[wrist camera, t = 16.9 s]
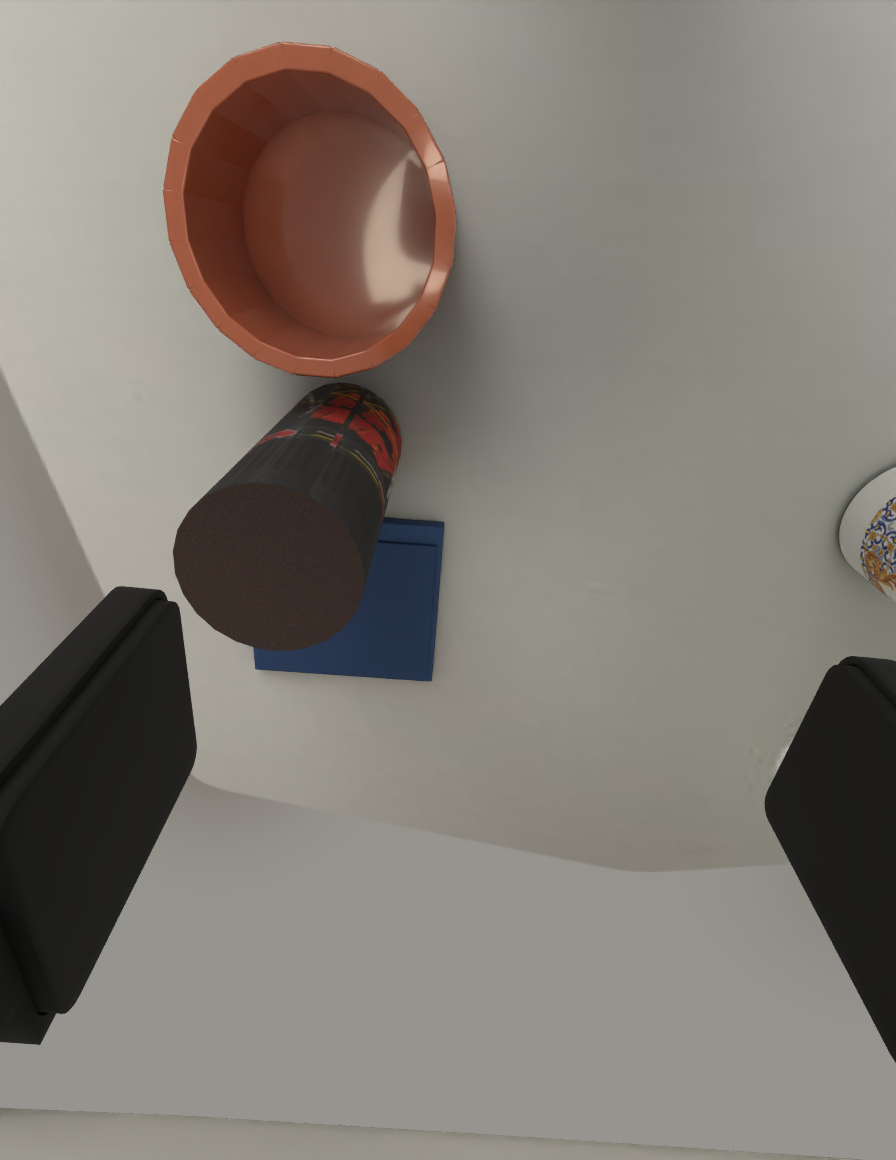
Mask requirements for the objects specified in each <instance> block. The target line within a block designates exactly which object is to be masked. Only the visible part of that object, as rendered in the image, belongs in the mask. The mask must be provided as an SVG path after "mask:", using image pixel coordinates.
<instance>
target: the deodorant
mask: <svg viewBox="0 0 896 1160" xmlns="http://www.w3.org/2000/svg"><path fill="white" fill-rule="evenodd" d="M401 442H402V440H401V434H400V429H399V425H398V423H397V421H396V419H395V416H394V414H393V412H392V411H391V410H390V409H389V407H388V406H387V405H386V404H385V403H384V401H383V400H382V399H380V398H379V397H378V396H376V395H375V394H374V393H372V392H371V391H369V390H367V389H364V388H362V387H359V386H357V385H352V384H345V383H336V384H329V385H324V386H322V387H320V388H317V389H315V390H313V391H311V392H310V393H309V394H308V395H306V396H305V397H304V398H303V399H302V400H301V401H300V402H299V403H298V404H297V405H296V406H295V407H294V408H293V409H292V410H291V411H290V412H289V413H288V414H287V415H285V416H284V417H283V418H282V419H281V420H280V421H279V422H278V423H277V424H276V425H275V426H274V427H273V428H272V429H271V430H270V431H269V432H268V433H267V434H266V435H265V436H264V437H263V438H262V439H261V440H260V441H259V442H258V443H257V444H256V445H255V446H254V447H253V448H252V449H251V450H250V451H249V452H248V453H247V454H246V455H245V456H244V457H243V458H242V459H241V460H240V461H239V462H238V463H237V464H236V465H235V466H234V467H233V468H232V469H231V470H230V471H229V472H228V473H227V474H226V475H225V476H224V477H223V478H222V479H221V480H220V481H219V482H218V483H217V484H216V485H215V486H213V487H212V488H211V489H210V490H209V491H208V492H207V493H206V494H205V495H204V496H203V497H202V498H201V499H200V500H199V501H198V502H197V503H196V504H195V505H194V506H193V507H192V508H191V509H190V510H189V511H188V513H187V515H186V517H185V518H184V520H183V522H182V523H181V525H180V527H179V528H178V530H177V535H176V539H175V544H174V549H173V556H174V567H175V574H176V577H177V579H178V582H179V584H180V587H181V590H182V592H183V595H184V596H185V597H186V599H187V600H188V602H189V603H190V604H191V606H192V607H193V609H194V610H195V611H196V613H197V614H198V615H199V616H200V617H201V618H203V619H204V620H205V621H206V622H207V623H208V624H209V625H210V626H212V627H213V628H214V629H215V630H217V631H218V632H220V633H222V634H224V635H226V636H227V637H229V638H231V639H233V640H234V641H236V642H239V643H243V644H246V645H249V646H252V647H255V648H258V649H265V650H275V651H289V650H298V649H305V648H308V647H311V646H314V645H316V644H319V643H322V642H325V641H326V640H328V639H329V638H331V637H332V636H334V635H335V634H336V633H338V632H339V631H341V630H342V629H343V628H344V627H345V626H346V624H347V623H348V622H349V621H350V619H351V618H352V617H353V616H354V614H355V613H356V610H357V608H358V605H359V603H360V600H361V598H362V595H363V592H364V588H365V584H366V581H367V577H368V573H369V570H370V566H371V562H372V558H373V555H374V551H375V547H376V544H377V540H378V536H379V532H380V529H381V525H382V521H383V518H384V514H385V510H386V507H387V503H388V499H389V495H390V492H391V488H392V484H393V481H394V477H395V473H396V470H397V466H398V462H399V458H400V454H401Z"/></svg>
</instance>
